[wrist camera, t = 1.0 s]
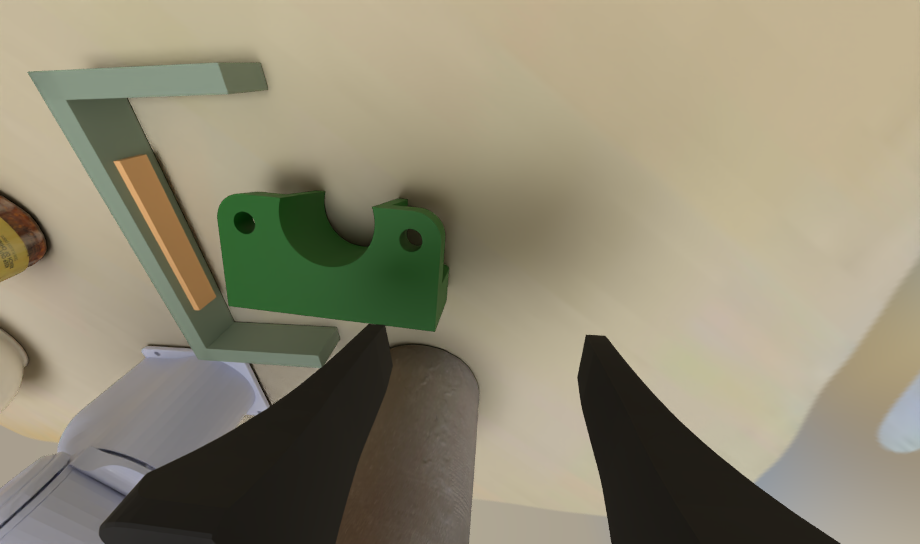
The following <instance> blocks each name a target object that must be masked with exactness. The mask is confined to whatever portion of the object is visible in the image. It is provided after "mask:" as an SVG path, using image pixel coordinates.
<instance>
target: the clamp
mask: <svg viewBox="0 0 920 544" xmlns="http://www.w3.org/2000/svg"><path fill="white" fill-rule="evenodd" d="M324 199H325V191H317V190H316V191H308V192H301V193H293V194H277V193H267V192H250V193H241V194H233V195H230V196H228V197H227V198H225V199H224V200H223V201H222V202H221V204H220V206H219V209H218V214H217V219H218V227H219V235H220V243H221V250H222V258H223V266H224V274H225V282H226V289H227V297H228V305H229V306H233V307H241V308H249V309H257V310H265V311H273V312H281V313H289V314H297V315H305V316H313V317H321V318H329V319H337V320H345V321H353V322H361V323H369V324H378V325H385V326H393V327H401V328H409V329H417V330H425V331H433V332H435V330H436V327H437V325H438V322H439V319H440V317H441V314H442V311H443V309H444V306H445V303H446V300H447V287H448V274H449V267H448V266H447V265H445V264H443V262H444V248H445V229H444V226H443V224H442V222H441V220H440V219H439V218H438V217H437V216H436V215H435V214H434V213H433V212H431V211H429V210H427V209H424V208H417V207H408V199H399V198H398V199H395V200H392V201H389V202H386V203H383V204H380V205H377V206H374V207H372V209H373V212H374V219H375V229H374V235H373V239H372V241H371V244H370V246H368V247H364V246H357V245H354V244H351V243H349V242H347V241H345V240H344V239H343V238H341V237H340V236H339V235H338V234H337V233H336V232H335V231H334V230H333V228H332V227H331V225H330V223H329V221H328V219H327V216H326V213H325V207H324ZM253 219H254V221H255V223H254V221H253ZM408 229H414V230H416V231H418V232H419V233H420V235H421V237H422V245H420V246H416V245H413V244H411V243H410V242H409V241H408V239H407V230H408Z"/></svg>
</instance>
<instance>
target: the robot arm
mask: <svg viewBox="0 0 920 544" xmlns="http://www.w3.org/2000/svg"><path fill="white" fill-rule="evenodd" d="M142 353H143V355H144V356H145V357H146V358H145V359H143V360H142V361H141V362H140V363H139V364H137V365H136V366H135V367H134V368H132V369H131V370H130V371H129V372H127V373H126V374H125V375H124V376H123V377H121V378H120V379H119V380H118V381H116V382H115V383H114V384H113V385H111V386H110V387H109V388H108V389H107V390H105V391H104V392H103V393H102V394H100V395H99V396H98V397H97V398H96V399H94V400H93V401H92V402H91V403H89V404H88V405H87V406H86V407H84V408H83V409H82V410H81V411H80V412H79V413H78V414H77V415H76V416H75V417H74V418H73V419H72V420H71V421H70V423H69V424H68V426H67V427H66V429H65V430H64V432H63V434H62V436H61V438H60V441H59V444H58V450H57V452H58V453H57V454H52V455H47V456H43V457H41V458H39V459H38V460H36V461H35V462H34V463H32V464H31V465H29V466H28V467H27V468H25V469H24V470H23V471H21V472H20V473H19V474H18V475H16V476H15V477H14V478H13V479H11V480H10V481H9V482H7V483H6V484H5V485H4V486H2V487H1V488H0V544H336V540H337V536H338V532H339V528H340V524H341V520H342V517H343V513H344V510H345V506H346V502H347V499H348V495H349V492H350V488H351V485H352V482H353V478H354V475H355V471H356V468H357V465H358V462H359V459H360V456H361V453H362V451H363V448H364V446H365V443H366V441H367V438H368V436H369V433H370V431H371V428H372V426H373V423H374V421H375V418H376V416H377V414H378V411H379V409H380V406H381V403H382V401H383V398H384V396H385V393H386V390H387V387H388V383H389V379H390V375H391V371H392V367H393V363H392V358H391V353H390V348H389V342H388V337H387V332H386V327H385V325H378V324H369V325H367V326H366V327H365V328H364V329H363V330H362V331H361V332H360V333H359V334H358V335H357V336H355V337H354V338H353V339H352V340H351V341H350V342H349V343H348V344H347V345H346V346H345V347H344V348H343V349H342V350H340V351H339V352H338V353H337V354H336V355H335V356H334V357H333V358H332V359H330V360H329V361H328V362H327V363H326V364H325V365H324V366H323V367H321V368H320V369H319V370H318V371H317V372H315V373H314V374H313V375H312V376H311V377H309V378H308V379H307V380H306V381H304V382H303V383H302V384H301V385H299V386H298V387H297V388H295V389H294V390H293V391H291V392H290V393H289V394H287V395H286V396H285V397H283V398H282V399H280V400H279V401H277V402H276V403H275V404H273V405H272V406H270V405H269V403H268V401H267V399H266V397H265V395H264V393H263V391H262V389H261V387H260V385H259V383H258V381H257V379H256V377H255V375H254V373H253V371H252V369H251V367H250V364H249V363H238V362H223V361H208V360H198V358H197V357H196V355H195V353H194V352H193V350H192V349H189V348H173V347H157V346H145V347H144V348H143V349H142ZM577 378H578V385H579V393H580V400H581V406H582V410H583V414H584V418H585V422H586V426H587V430H588V433H589V437H590V441H591V445H592V448H593V452H594V456H595V460H596V463H597V467H598V471H599V475H600V479H601V484H602V488H603V494H604V500H605V506H606V512H607V518H608V523H609V530H610V537H611V543H612V544H840V543H839V542H837V541H836V540H834V539H833V538H831V537H830V536H828V535H827V534H825V533H824V532H822V531H821V530H819V529H818V528H816V527H815V526H813V525H812V524H810V523H809V522H807V521H806V520H804V519H803V518H801V517H800V516H798V515H797V514H795V513H794V512H792V511H791V510H790V509H788V508H787V507H785V506H784V505H783V504H781V503H780V502H778V501H777V500H776V499H774V498H773V497H772V496H770V495H769V494H767V493H766V492H765V491H763V490H762V489H761V488H759V487H758V486H757V485H755V484H754V483H753V482H751V481H750V480H749V479H747V478H746V477H745V476H744V475H742V474H741V473H740V472H739V471H737V470H736V469H735V468H734V467H732V466H731V465H730V464H729V463H727V462H726V461H725V460H724V459H722V458H721V457H720V456H719V455H717V454H716V453H715V452H714V451H713V450H712V449H710V448H709V447H708V446H707V445H706V444H705V443H703V442H702V441H701V440H700V439H699V438H698V437H697V436H696V435H695V434H693V433H692V432H691V431H690V430H689V429H688V428H687V427H686V426H685V425H684V424H683V423H682V422H680V421H679V420H678V419H677V418H676V417H675V416H674V415H673V414H672V413H671V412H670V411H669V410H668V408H667V407H666V406H665V405H664V404H663V403H662V402H661V401H660V400H659V399H658V398H657V397H656V396H655V395H654V394H653V393H652V392H651V390H650V389H649V388H648V387H647V386H646V385H645V384H644V382H643V381H642V380H641V379H640V378H639V377H638V376H637V374H636V373H635V372H634V371H633V370H632V369H631V367H630V366H629V365H628V364H627V362H626V361H625V360H624V359H623V357H622V356H621V355H620V354H619V352H618V351H617V350H616V349H615V347H614V346H613V345H612V344H611V342H610V341H609V340H608V339H607V338H606V336H598V335H586V337H585V342H584V347H583V352H582V357H581V362H580V367H579V372H578V377H577ZM245 415H256V416H254V417H253V418H251V419H250V420H248V421H246V422H245V423H243V424H242V425H240V426H238V427H237V425H238V424H239V423H240V421H241V420H242V419H243V417H244V416H245ZM236 427H237V428H236Z"/></svg>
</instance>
